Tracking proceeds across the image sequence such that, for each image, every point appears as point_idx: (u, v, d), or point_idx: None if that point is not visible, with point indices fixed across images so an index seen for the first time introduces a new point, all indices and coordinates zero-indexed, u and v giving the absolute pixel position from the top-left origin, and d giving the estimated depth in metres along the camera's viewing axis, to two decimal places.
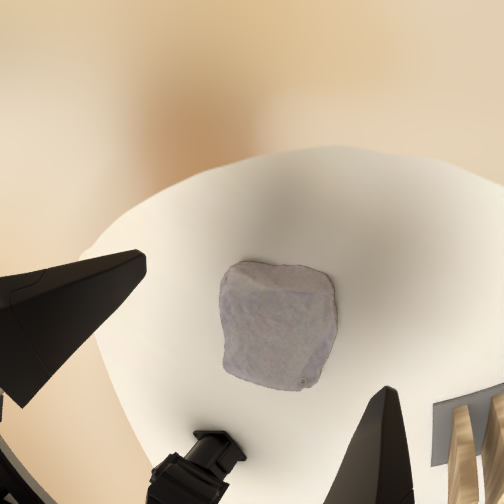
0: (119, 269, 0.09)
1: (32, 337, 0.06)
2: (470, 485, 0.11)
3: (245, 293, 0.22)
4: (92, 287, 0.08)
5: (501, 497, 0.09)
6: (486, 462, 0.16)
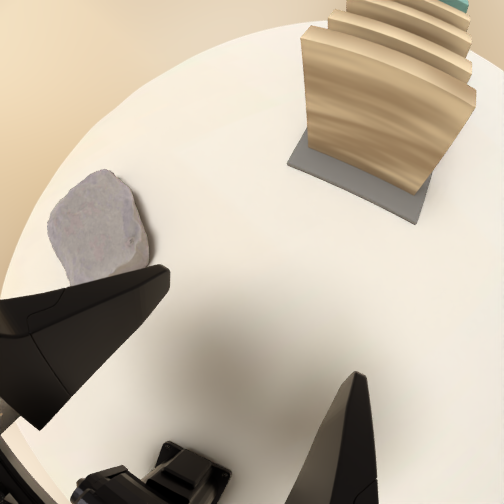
0: (144, 287, 0.08)
1: (52, 362, 0.06)
2: None
3: (56, 208, 0.24)
4: (116, 307, 0.08)
5: (379, 32, 0.13)
6: None
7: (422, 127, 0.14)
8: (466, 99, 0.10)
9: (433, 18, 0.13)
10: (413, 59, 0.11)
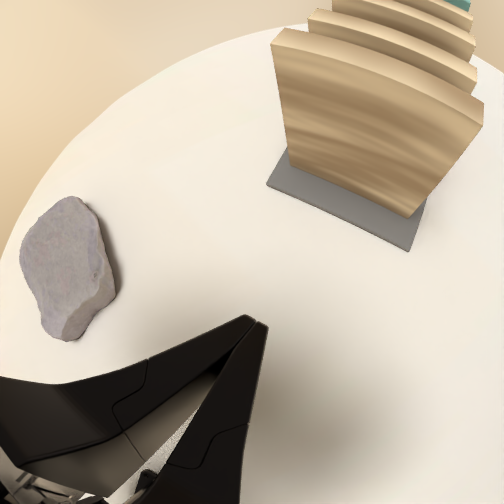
0: None
1: (139, 443, 0.05)
2: None
3: (26, 237, 0.22)
4: (210, 373, 0.07)
5: (368, 33, 0.11)
6: None
7: (417, 147, 0.12)
8: (472, 115, 0.08)
9: (431, 17, 0.11)
10: (407, 65, 0.09)
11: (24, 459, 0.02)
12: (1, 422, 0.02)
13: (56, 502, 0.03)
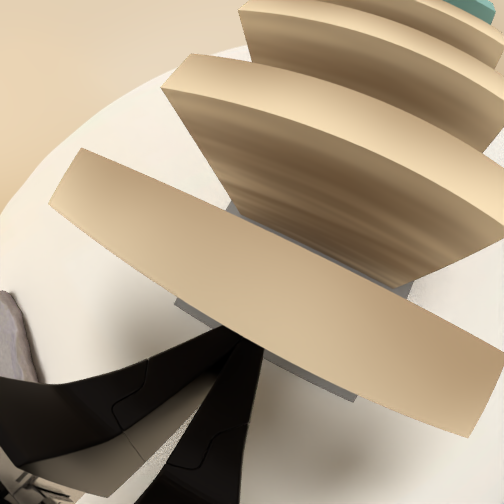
0: None
1: (139, 443, 0.05)
2: None
3: None
4: (210, 373, 0.07)
5: (271, 110, 0.06)
6: (373, 258, 0.12)
7: None
8: (454, 418, 0.03)
9: (433, 41, 0.06)
10: (320, 267, 0.04)
11: (24, 459, 0.02)
12: (1, 422, 0.02)
13: (56, 502, 0.03)
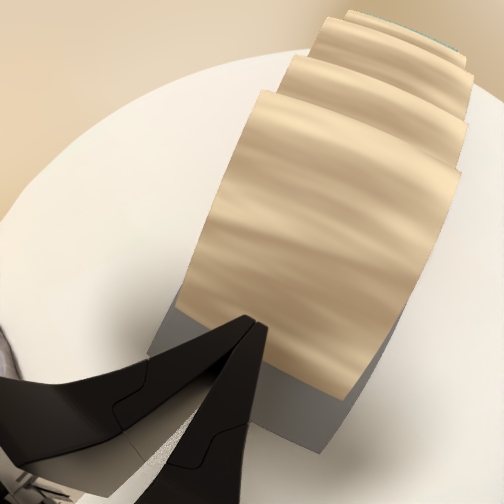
0: None
1: (139, 444, 0.05)
2: None
3: None
4: (210, 373, 0.07)
5: (356, 73, 0.12)
6: None
7: (392, 226, 0.11)
8: None
9: None
10: None
11: (24, 459, 0.02)
12: (1, 422, 0.02)
13: (56, 502, 0.03)
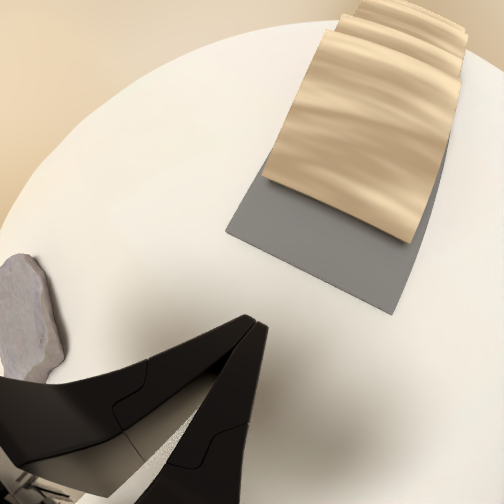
0: None
1: (139, 443, 0.05)
2: None
3: None
4: (210, 373, 0.07)
5: (385, 27, 0.15)
6: None
7: (423, 108, 0.14)
8: None
9: None
10: None
11: (24, 459, 0.02)
12: (1, 422, 0.02)
13: (56, 502, 0.03)
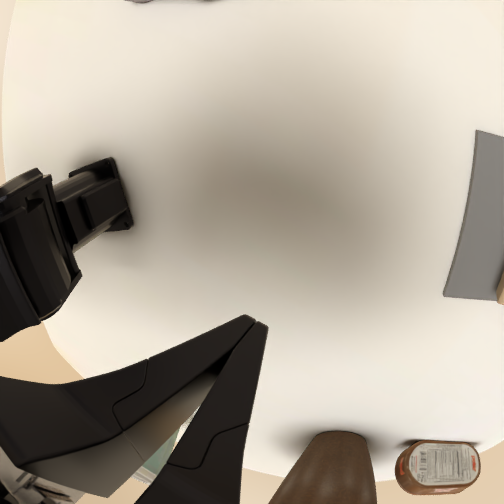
0: None
1: (139, 444, 0.05)
2: None
3: None
4: (210, 373, 0.07)
5: None
6: None
7: None
8: None
9: None
10: None
11: (24, 459, 0.02)
12: (1, 422, 0.02)
13: (56, 502, 0.03)
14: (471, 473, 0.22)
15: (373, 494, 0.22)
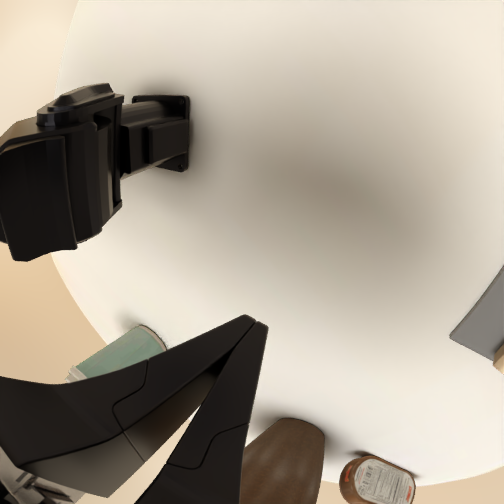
0: None
1: (139, 443, 0.05)
2: None
3: None
4: (210, 373, 0.07)
5: None
6: None
7: None
8: None
9: None
10: None
11: (24, 459, 0.02)
12: (1, 422, 0.02)
13: (56, 502, 0.03)
14: (404, 502, 0.26)
15: (317, 491, 0.26)
